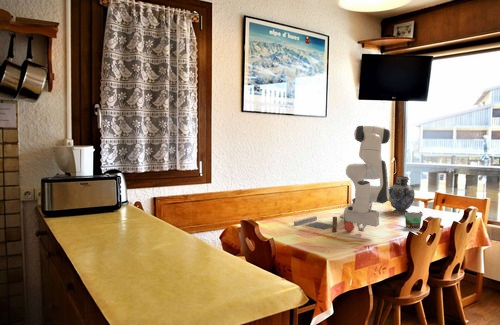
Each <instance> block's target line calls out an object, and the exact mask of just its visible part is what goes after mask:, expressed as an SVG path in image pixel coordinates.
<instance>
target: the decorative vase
mask: <svg viewBox="0 0 500 325" xmlns="http://www.w3.org/2000/svg"><path fill="white" fill-rule="evenodd" d="M409 180H410V178H409V177H408V176H406V175H405V176H404V175H403V176H402V175H398V176H396V178H395V184H393V185H391V186H390V188H388V189H389V202H390V205H391V207H392V208H393V209H394V210H392V212H393V213H395V212H396V213H395V214H402V213H405V212H409V211H407V210H408V209H410V207H412V205H413V202H414V199H415V189H414V188H413V187H412V185H411V186H410V185H409V184H408V183H409Z"/></svg>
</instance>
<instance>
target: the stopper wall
mask: <svg viewBox="0 0 500 325" xmlns="http://www.w3.org/2000/svg"><path fill="white" fill-rule="evenodd" d="M317 219H318V217H317V216H313V215H312V216H310V217H306V218H302V219H298V220H294V222H293V226H295V227H298V226H300V225H301V226H302V225H304V224H305V225H306V224H308V223H309V224H310V223H312V222H317Z"/></svg>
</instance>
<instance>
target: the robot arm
mask: <svg viewBox="0 0 500 325" xmlns="http://www.w3.org/2000/svg"><path fill="white" fill-rule="evenodd" d="M353 136H354V139H355V141H357V142H359V143H360V147H359V152H358V156H359V159H361V160H362V161H363V163H350V164H347V166H346V168H345V174H346V176H347V177H348V178H349V180H351V182H352V184H353V185H354V190H355V193H354V196H355V197H354V198H351V202H352V203H351V204H349V205H348V206H346V207H345V208H344V210H343V213H341V214H340V217H341V218H344V213H345V220H346V221H347V222H351V223H353V224H356V227H357V229H358V231H357V232H361V233H363V232H365V228H366V227H367V226H370V227H375V228H376V227H378V226H379V225H380V213H379V211H378V210H374V209H372V208H373V202H374V203H377V204H385V203H387V202H388V201H390V199H389V189H390V188H389V182H388V181H389V180H388V171H387V163H386V161H385V160H384V159H383V158H382V145H384V144H388V142H389V140H390V139H391V130H390V129H389V128H388V127H381V126H377V125H373V126H372V125H358V126H356V128H355V129H354V132H353ZM378 179H379V185H371V183H370V181H367V180H378ZM361 225H362V227H361Z"/></svg>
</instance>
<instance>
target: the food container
mask: <svg viewBox="0 0 500 325" xmlns="http://www.w3.org/2000/svg"><path fill="white" fill-rule="evenodd" d="M423 215H424V214H423V212H422V211H421V210H419V212H412V211H411V212H410V211H408V212H405V214H404V216H405V219H404V220H405V228H408V229H420V228H421V223H422V217H423Z"/></svg>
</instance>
